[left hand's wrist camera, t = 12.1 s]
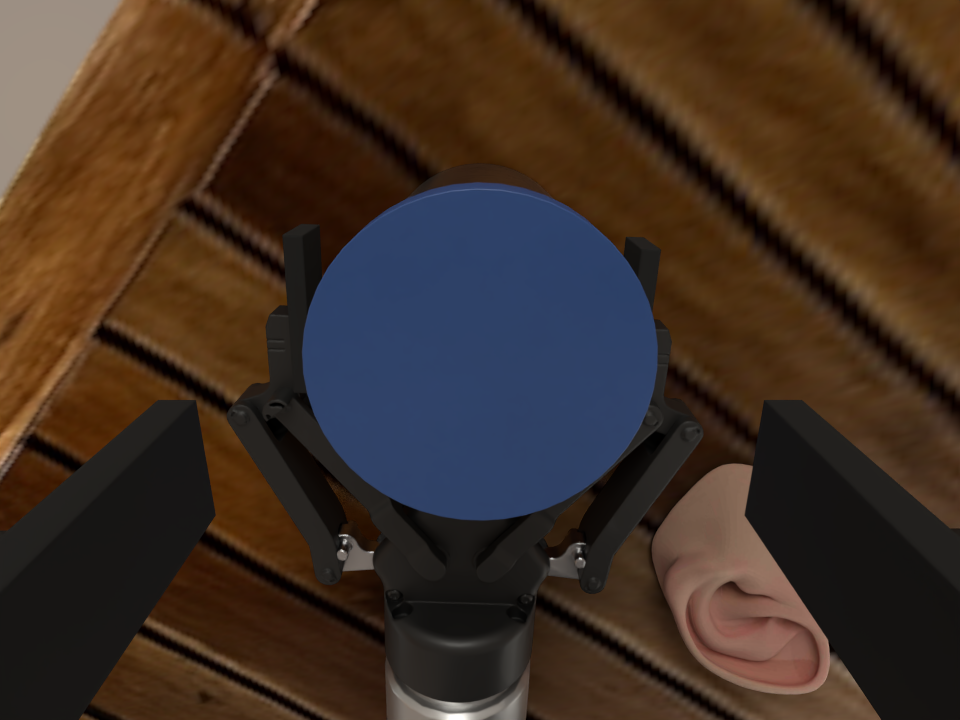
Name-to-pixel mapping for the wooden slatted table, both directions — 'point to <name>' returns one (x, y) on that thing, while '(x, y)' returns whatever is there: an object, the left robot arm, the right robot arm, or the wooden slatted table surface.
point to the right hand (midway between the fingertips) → (472, 235)
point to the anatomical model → (735, 592)
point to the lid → (479, 352)
